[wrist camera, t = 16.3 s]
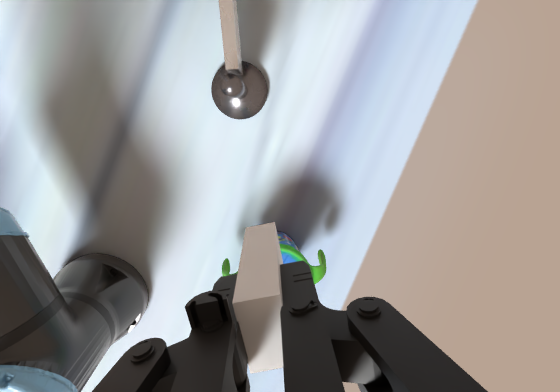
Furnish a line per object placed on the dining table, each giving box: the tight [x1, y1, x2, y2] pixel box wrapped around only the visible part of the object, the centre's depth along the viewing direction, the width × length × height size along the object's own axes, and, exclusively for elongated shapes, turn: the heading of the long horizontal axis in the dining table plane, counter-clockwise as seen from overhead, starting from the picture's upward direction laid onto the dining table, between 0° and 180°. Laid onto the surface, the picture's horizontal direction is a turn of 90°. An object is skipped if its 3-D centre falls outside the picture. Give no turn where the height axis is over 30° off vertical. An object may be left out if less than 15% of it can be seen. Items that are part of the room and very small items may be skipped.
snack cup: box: [222, 232, 326, 284], centre depth 49 cm, size 16×10×10 cm
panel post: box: [212, 61, 267, 119], centre depth 41 cm, size 8×8×12 cm
